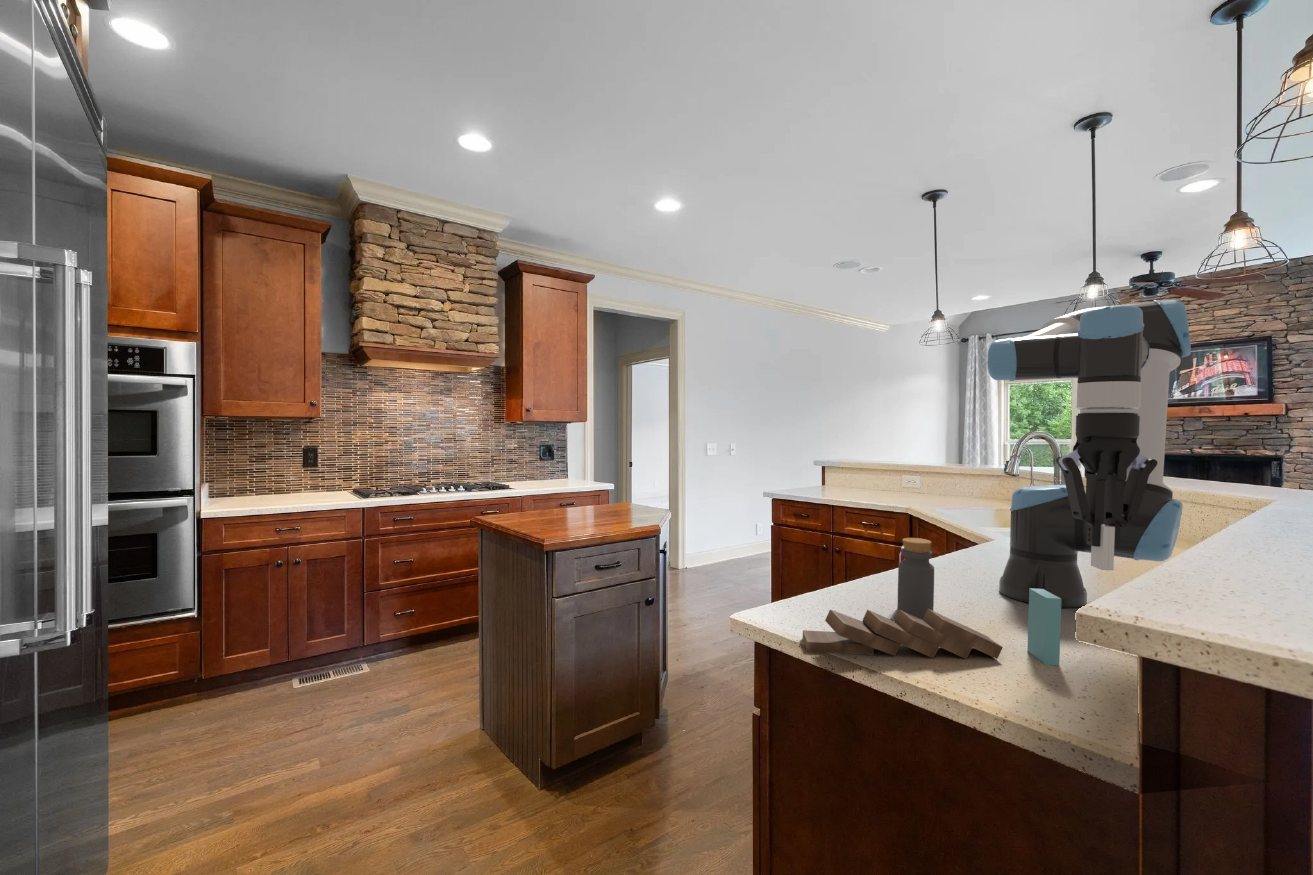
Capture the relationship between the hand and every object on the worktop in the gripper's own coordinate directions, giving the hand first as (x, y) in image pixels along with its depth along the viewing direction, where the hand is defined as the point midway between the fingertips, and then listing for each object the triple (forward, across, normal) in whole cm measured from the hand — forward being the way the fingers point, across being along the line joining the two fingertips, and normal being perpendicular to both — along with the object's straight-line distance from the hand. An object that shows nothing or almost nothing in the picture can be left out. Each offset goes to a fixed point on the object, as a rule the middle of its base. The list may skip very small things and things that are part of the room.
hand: (1101, 567), depth 86 cm
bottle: (+15, +23, -13) cm, 30 cm away
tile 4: (+13, +25, 0) cm, 28 cm away
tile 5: (+13, +31, 0) cm, 33 cm away
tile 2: (+13, +15, -1) cm, 20 cm away
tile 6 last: (+14, +34, 0) cm, 36 cm away
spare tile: (+14, +8, 0) cm, 16 cm away
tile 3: (+13, +20, 0) cm, 24 cm away
